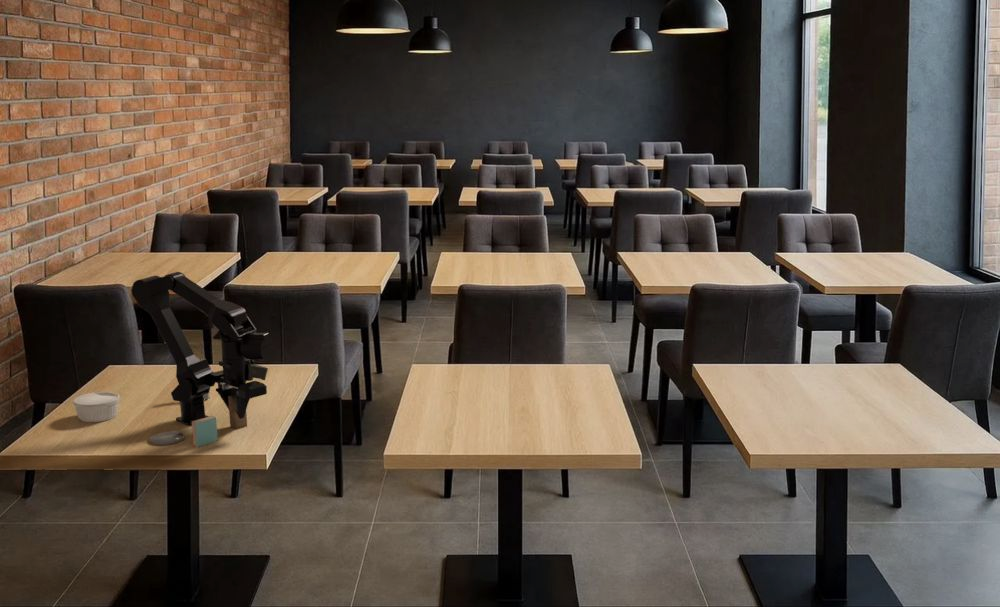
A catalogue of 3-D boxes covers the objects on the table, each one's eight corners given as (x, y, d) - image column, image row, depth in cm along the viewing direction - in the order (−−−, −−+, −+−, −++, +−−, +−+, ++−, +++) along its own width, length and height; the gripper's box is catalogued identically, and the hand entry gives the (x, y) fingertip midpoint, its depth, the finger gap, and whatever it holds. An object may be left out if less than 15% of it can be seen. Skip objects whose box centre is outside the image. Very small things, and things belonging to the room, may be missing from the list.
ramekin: (128, 410, 275) (127, 391, 274) (109, 425, 264) (107, 405, 263) (88, 409, 276) (86, 390, 275) (67, 423, 265) (65, 404, 264)
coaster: (143, 439, 253) (143, 437, 253) (173, 431, 258) (173, 429, 258) (160, 447, 247) (160, 445, 247) (190, 438, 253) (190, 436, 253)
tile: (193, 445, 249) (191, 421, 248) (214, 439, 253) (212, 415, 252) (197, 446, 248) (195, 423, 247) (217, 440, 252) (215, 417, 251)
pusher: (230, 426, 262) (228, 396, 260) (240, 423, 264) (238, 393, 262) (236, 429, 260) (234, 398, 258) (247, 426, 262) (245, 395, 260)
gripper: (283, 357, 257) (286, 416, 261) (240, 344, 270) (244, 401, 273) (244, 366, 249) (248, 428, 253) (202, 352, 262) (206, 411, 265)
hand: (238, 416), depth 261 cm, fingers closed on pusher, 3 cm apart
